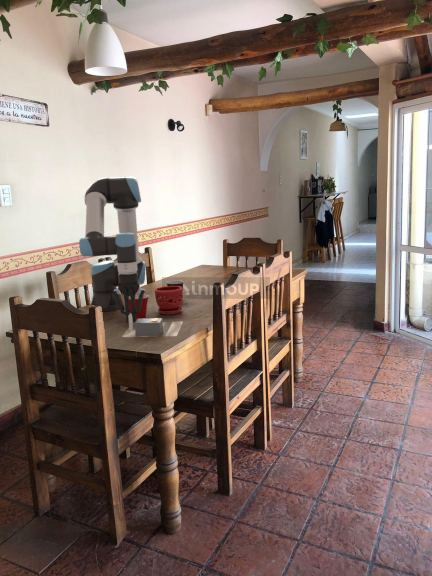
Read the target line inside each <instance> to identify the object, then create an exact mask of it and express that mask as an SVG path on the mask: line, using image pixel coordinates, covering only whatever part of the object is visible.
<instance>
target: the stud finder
mask: <svg viewBox="0 0 432 576" xmlns="http://www.w3.org/2000/svg"><path fill="white" fill-rule="evenodd" d="M163 322H164V321H163V317H155V318H151V317H150V318H149V317H148V318H144V319H137V320H136V322H135V335H136V336H161V334H162V332H163Z"/></svg>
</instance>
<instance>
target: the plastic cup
mask: <svg viewBox="0 0 432 576" xmlns="http://www.w3.org/2000/svg"><path fill="white" fill-rule="evenodd" d="M139 295H140V294H139V293H138V294H135V302H136V310H137V305H138V299H139ZM149 297H150V295H149V294H145V293H144V294H143V300H142V305H141V311H140V312H139V313H138V314H136V320H137V319H144V318H146V317H147V308H148V301H149ZM129 306H130V314H132V309H131V298H130V296H129Z"/></svg>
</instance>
